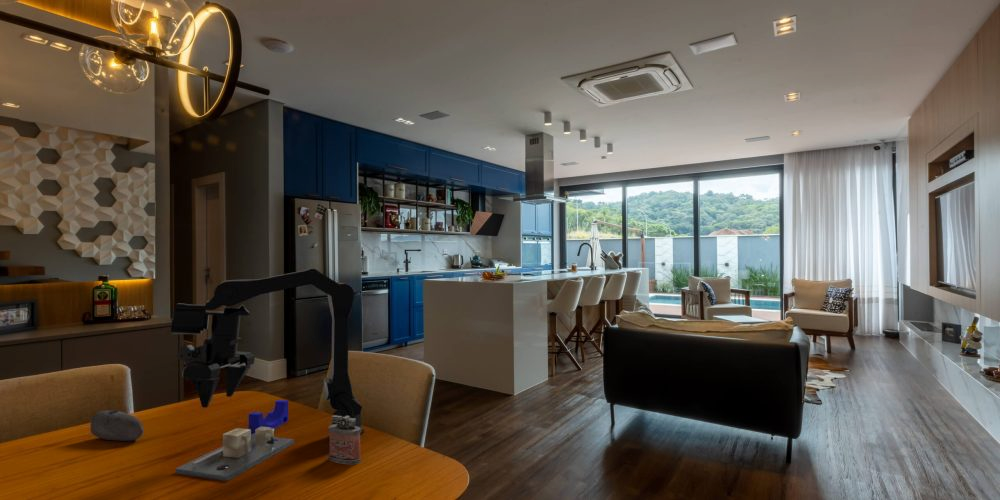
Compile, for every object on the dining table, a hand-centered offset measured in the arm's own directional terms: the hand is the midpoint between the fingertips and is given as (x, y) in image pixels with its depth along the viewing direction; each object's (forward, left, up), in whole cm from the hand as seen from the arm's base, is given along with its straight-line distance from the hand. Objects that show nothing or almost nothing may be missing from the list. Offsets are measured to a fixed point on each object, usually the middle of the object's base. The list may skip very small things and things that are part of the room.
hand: (217, 401), depth 108 cm
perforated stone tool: (+35, -3, -14) cm, 38 cm away
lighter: (-29, -7, -14) cm, 33 cm away
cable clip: (+4, -19, -14) cm, 24 cm away
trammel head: (-4, -2, -12) cm, 13 cm away
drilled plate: (-4, -2, -13) cm, 14 cm away
